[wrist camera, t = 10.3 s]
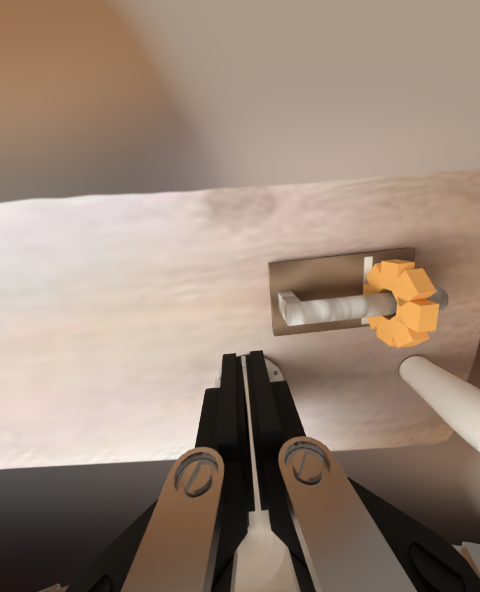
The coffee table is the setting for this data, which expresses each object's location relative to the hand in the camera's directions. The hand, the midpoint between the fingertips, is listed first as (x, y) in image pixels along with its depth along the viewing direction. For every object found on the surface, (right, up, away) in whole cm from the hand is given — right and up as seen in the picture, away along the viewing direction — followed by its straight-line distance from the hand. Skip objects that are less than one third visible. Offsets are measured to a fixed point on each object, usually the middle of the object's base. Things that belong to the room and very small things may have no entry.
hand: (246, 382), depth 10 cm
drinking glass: (+31, -9, +32) cm, 46 cm away
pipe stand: (+16, +4, +27) cm, 32 cm away
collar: (+20, +4, +25) cm, 33 cm away
